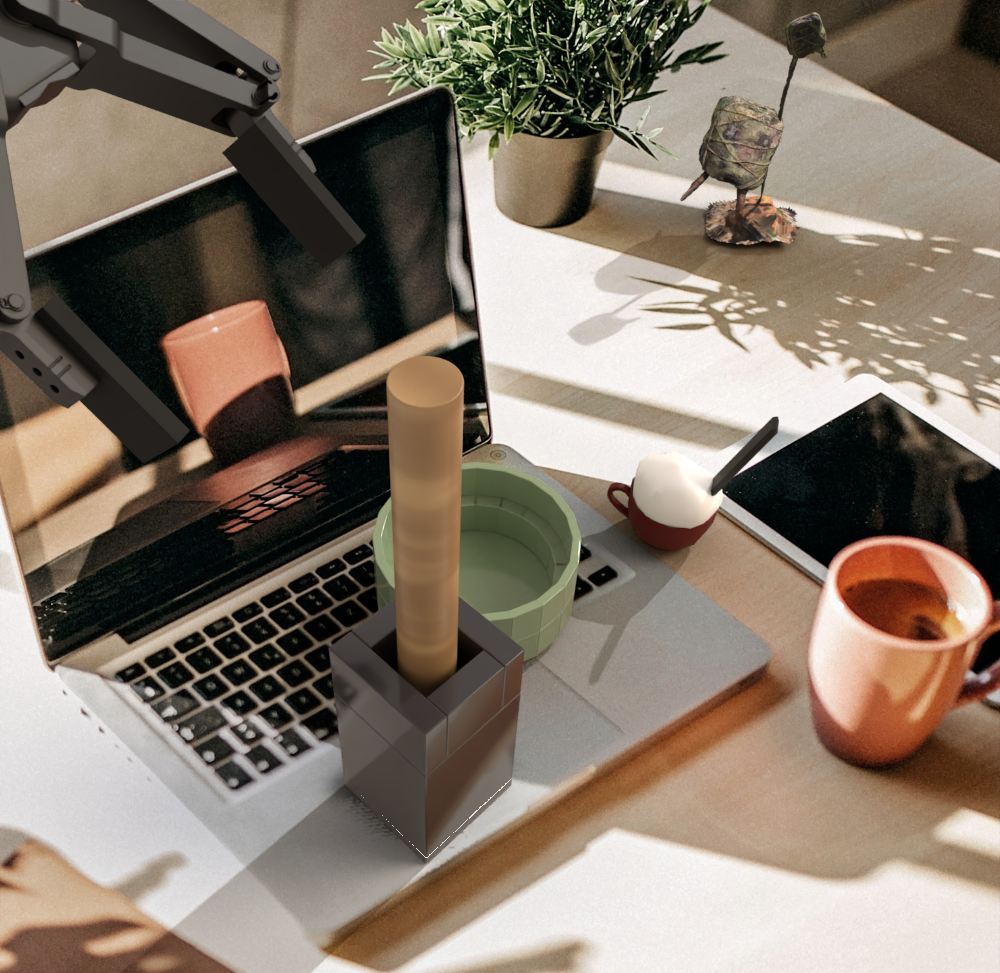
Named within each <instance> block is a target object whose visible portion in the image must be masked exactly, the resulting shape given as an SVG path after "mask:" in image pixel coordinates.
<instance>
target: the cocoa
mask: <svg viewBox="0 0 1000 973" xmlns="http://www.w3.org/2000/svg"><path fill="white" fill-rule="evenodd" d="M779 426H780V418H779V416H772V417H771V418H770V419H769V420H768V421H767V422H766V423H765V424H764V425H763V426H762V427H761V428H760V429H759V430H758V431H757V433H755V435H753V436H752V437H751V439H749V441H747V443H746V444H745V445H744V446H743V447H741V449H740V450H739V451H738V452H737V453H736V454H735V455H734V456H733V457H732V458H731V459H730V460H729V461H728V462H727V463H726V464H725V465H724V466H723V467H722V468H721V469H720V470H718V472H717V473H716V474H714V473H713V472H711V471H709V470H708V469H706V468H704V467H702V466H701V465H699V464H698V463H697V462H695V461H693V460H691V459H690V458H689V457H687V456H685V455H684V454H682V453H680V452H678V451H677V450H674V451H666V452H661V453H655V454H649V455H648V456H646V457H644V458H642V459H639V462H638V465H637V468H636V472H635V476H634V477H633V478H632V480H631V483H630V486H629V485H628V484H625V483H623V482H612V483H611V484H609V487H608V489H607V492H606V496H607V499H608V501H609V503H610V504H611V505H612V506H613V507H614V509H615V510H617V511H618V512H619V513H620V514H622V515H623V516H624V517H625V518H627V519H629V522H630V524H631V526H632V529H633V531H634V532H635V534H636V535H637V536H638V537H640V538H641V540H643V541H644V542H645V543H646V544H647V545H650V546H652V547H654V548H657V549H659V550H663V551H679V550H683V549H686V548H689V547H691V546H694V545H695V544H697V542H698V541H699V540H700V539H701V538H702V537H703V535H705V533H706V532H707V531H708V530H709V529H710V527H712V525H713V523H714V521H715V519H716V517H717V515H718V511H719V508H720V506H721V504H722V502H723V501H724V494H723V488H725V487H726V485H728V483H729V482H730V481H731V480H732V479H734V478H735V476H737V475H738V474H739V472H741V471H742V469H744V468H745V467H746V465H747V464H749V462H750V461H751V460H753V458H754V457H756V456H757V454H758V453H759V452H761V451H762V449H763V448H765V446H766V445H767V444H768V443H769V442H770V441H772V439H773V438H775V437H776V436H777V434H778V433H779ZM617 491H618V492H622V493H624V494H625V495H626V496H627V497H628V499H627V506H625V505H624V504H623V503H622V502H621V501H620V500H619V499H618V498H617V497H616V496H615V494H614V492H617Z"/></svg>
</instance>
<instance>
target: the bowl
mask: <svg viewBox="0 0 1000 973" xmlns="http://www.w3.org/2000/svg"><path fill="white" fill-rule="evenodd" d="M376 517H377V518H376V521H375V524H374V528H373V532H372V537H371V539H372V554H373V556H372V557H373V571H374V572H373V573H374V588H375V596H376V603H377V611H379V610H380V609H381V608H383V607H384V606H385V605H387V604H388V603H389V602H391V601H392V600H393V599H395V581H394V556H393V532H392V508H391V496H390V497H389V498H388V499H387V501H385V503H384V505H383V506H382V507H381V508H380V510H379V512H378V514H377V516H376ZM581 546H582V535H581V532H580V529H579V526H578V522H577V518H576V515H575V513H574V512H573V510H572V509H571V508H570V506H569V505H568V504H567V503H566V501H565V500H564V498H563V497H562V496H561V494H559V492H557V491H556V490H555V489H553V488H552V487H550V486H549V485H548V484H546V483H545V482H544V481H542V480H541V479H539V478H538V477H537V476H535V475H533V474H529V473H527V472H524V471H522V470H519V469H517V468H514V467H512V466H509V465H508V466H507V465H504V464H495V463H488V462H480V461H472V462H471V461H470V462H462V482H461V521H460V560H459V597H461V598H462V599H463V600H464V601H466V602H467V603H468V604H469V605H471V606H472V607H473V608H474V609H475V610H477V611H478V612H479V613H480V614H482V615H483V616H484V617H485V618H487V619H488V620H489V621H490V622H491V623H493V624H494V625H495V626H496V627H498V628H499V629H500V630H501V631H503V632H504V633H505V634H506V635H507V636H509V637H510V638H511V639H512V640H514V641H515V642H516V643H517V644H519V645H520V646H521V647H522V648H524V650H525V654H524V662H526V661H528V660H531V659H533V658H535V657H537V656H538V655H540V653H542V652H543V651H544V650H546V649H547V648H548V647H549V646H550V645H551V644H552V643H554V642H555V641H556V640H557V639H558V638H559V637H560V636H561V634H562V632H563V630H564V628H565V627H566V625H567V623H568V621H569V619H570V617H571V615H572V613H573V605H574V599H575V591H576V584H577V578H578V573H579V572H578V571H579V565H580V558H581V548H582V547H581Z"/></svg>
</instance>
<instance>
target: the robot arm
mask: <svg viewBox="0 0 1000 973" xmlns="http://www.w3.org/2000/svg"><path fill="white" fill-rule="evenodd" d="M76 2H78V3H79V4H78V3H76ZM78 43H81V44H78ZM238 69H240V70H241V71H243V72H241V73H240V72H239V71H238ZM282 75H283V70H282V67H281V65H280V63H279V61H278V60H277V59H276V58H275V57H273V56H272V55H270V54H269V53H267V52H266V51H265V50H263V49H262V48H260V47H258V46H257V45H255V44H254V43H252V42H251V41H249V40H248V39H246V38H244V37H243V36H241V35H240V34H239V33H237V32H236V31H234V30H233V29H231V28H230V27H228V26H227V25H225V24H223V22H220V21H219V20H217V19H216V18H214V17H213V16H211V15H210V14H208V13H207V12H205V11H204V10H202V9H201V8H199V7H197V6H196V5H195V4H193V3H191V1H189V0H0V352H1V353H2V354H4V355H5V356H6V357H7V358H8V359H9V360H10V361H11V362H12V363H13V364H14V365H15V366H16V367H17V368H18V369H19V370H20V371H21V372H22V373H23V374H24V375H25V376H26V377H27V378H28V379H29V380H30V381H33V384H34V385H35V386H37V387H38V388H39V389H40V390H41V391H42V392H43V393H44V394H45V395H46V396H47V397H48V399H50V400H51V401H52V402H53V403H55V404H57V405H59V406H61V407H63V408H65V409H67V410H68V409H70V408H71V407H72V406H74V405H75V404H77V403H78V402H80V403H81V404H82V405H83V406H84V407H85V408H86V409H87V410H88V411H89V412H90V413H91V414H92V415H93V416H95V418H97V420H98V421H99V422H100V423H102V425H104V427H106V428H107V430H109V431H110V432H111V433H112V434H113V435H114V436H115V437H116V438H117V439H118V440H119V441H120V442H121V443H122V444H123V445H124V446H125V448H127V449H128V450H129V451H130V452H131V453H132V454H133V455H134V456H135V457H136V458H137V459H138V460H139V461H140V462H141V463H142V464H145V463H147V462H148V461H150V460H152V459H155V457H157V456H159V455H161V454H163V453H165V452H166V451H168V450H170V449H171V448H173V447H175V446H177V445H178V444H179V443H180V442H181V441H182V440H183V439H184V438H185V437H186V435H187V434H188V433H189V432H190V431H191V430H190V429H189V428H188V427H187V425H185V424H184V423H183V422H182V421H181V420H180V419H179V417H177V415H175V414H174V413H173V411H171V409H170V408H168V406H167V405H165V403H164V402H162V400H161V399H160V398H158V396H157V395H156V394H155V393H154V392H153V391H152V390H151V389H150V388H149V387H148V386H147V385H146V384H145V383H144V382H143V381H142V380H141V379H140V378H139V377H138V376H137V375H136V374H135V373H134V372H133V371H132V370H131V369H130V368H129V367H128V366H127V365H126V364H125V363H124V362H123V360H121V359H120V358H119V357H118V355H116V353H114V352H113V350H111V349H110V348H109V347H108V345H106V344H105V343H104V341H102V340H101V338H100V337H98V336H97V334H95V332H94V331H92V330H91V328H90V327H89V326H87V324H86V323H85V322H84V321H83V320H82V319H81V318H80V317H79V316H78V315H77V314H76V313H75V312H74V311H73V310H72V309H71V308H70V307H69V306H68V305H67V304H66V303H65V302H64V301H63V300H62V299H61V298H60V297H59V296H58V295H57V294H56V295H54V296H53V297H52V298H51V299H50V300H48V301H47V302H46V303H45V304H44V305H42V306H41V307H40V308H39V309H38V310H37V311H35V310H34V309H33V300H32V294H31V288H30V283H29V277H28V276H29V275H28V270H27V264H26V256H25V251H24V245H23V239H22V233H21V227H20V220H19V214H18V209H17V203H16V196H15V190H14V184H13V178H12V173H11V172H12V171H11V166H10V165H11V164H10V160H9V154H8V147H7V141H6V140H7V139H6V137H7V132H8V131H9V130H11V129H12V128H14V127H15V126H17V125H18V124H19V123H20V122H21V120H22V119H24V117H25V116H26V115H27V113H28V112H29V111H30V110H31V109H35V108H38V107H41V106H45V105H47V104H49V103H50V102H51V101H53V100H54V99H56V98H57V97H59V95H61V93H62V92H63V91H64V90H65V88H68V89H71V90H75V91H82V92H83V91H89V90H98V91H100V92H102V93H106V94H108V95H111V96H114V97H117V98H120V99H123V100H126V101H128V102H131V103H134V104H136V105H140V106H142V107H145V108H148V109H150V110H153V111H156V112H158V113H162V114H165V115H168V116H170V117H173V118H176V119H179V120H182V121H185V122H187V123H189V124H192V125H195V126H198V127H201V128H204V129H207V130H210V131H211V132H215V133H218V134H221V135H223V136H226V137H230V138H237V139H236V140H234V141H233V142H232V143H231V144H230V145H229V146H228V147H226V149H224V150H223V151H222V152H221V154H222V155H223V156H224V157H225V158H226V159H227V160H228V162H229V163H230V164H231V165H232V166H233V168H234V169H235V170H236V171H237V172H238V174H240V176H241V177H242V178H243V179H244V181H246V182H247V183H248V184H249V187H251V188H252V190H254V191H255V193H256V194H257V196H259V197H260V198H261V200H262V201H263V202H264V203H265V204H266V206H267V207H268V208H269V209H270V210H271V211H272V212H273V214H275V216H276V217H277V218H278V219H279V220H280V222H281V223H282V224H283V225H284V226H285V227H286V228H287V229H288V230H289V232H290V233H291V234H292V235H293V237H294V238H295V239H296V240H297V241H298V242H299V243H300V244H301V246H302V247H303V248H304V249H305V251H307V252H308V254H309V255H310V256H311V257H312V258H313V260H315V262H316V263H317V264H318V265H319V266H320V268H322V269H325V268H326V267H328V266H329V265H330V264H332V263H333V262H335V261H337V260H338V259H339V258H340V257H342V256H344V255H345V254H346V253H348V252H350V251H351V250H352V249H354V248H355V247H357V246H358V245H359V244H361V242H362V241H364V239H365V238H366V237H367V235H366V233H364V231H363V230H362V229H361V228H360V227H359V225H358V224H357V223H356V222H355V221H354V220H353V218H352V217H351V216H350V215H349V213H348V212H347V211H346V210H345V209H344V207H343V206H341V204H340V203H339V201H338V200H337V199H336V198H335V197H334V196H333V194H332V193H331V192H330V190H328V189H327V188H326V187H325V185H324V184H323V183H322V182H321V180H320V179H319V178H318V177H317V176H316V175H315V173H316V172H317V168H316V166H315V164H314V161H313V159H312V158H311V157H310V156H309V154H308V153H307V152H306V151H305V149H302V146H301V145H300V144H299V143H298V142H297V141H296V139H295V138H294V136H293V135H292V134H291V133H290V132H289V131H288V129H287V128H286V127H285V126H284V125H283V123H282V122H281V121H280V119H278V117H277V116H276V115H275V113H274V112H273V111H272V109H271V108H272V107H273V106H274V105H275V104H276V103H277V102H278V101H279V100H280V98H281V91H280V88H279V86H278V84H277V82H278V81H279V80H280V79H281V77H282Z"/></svg>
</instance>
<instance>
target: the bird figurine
mask: <svg viewBox="0 0 1000 973" xmlns="http://www.w3.org/2000/svg"><path fill="white" fill-rule="evenodd" d="M784 35H785V36H784V37H785V39H786V41H785V42H786V50H787V52H788V54H789V56H792V58H791V61H790V63H789V66H788V72H787V77H786V79H785V85H784V86H783V90H782V93H781V94H782V95H781V97H780V102H779V109H778V112H777V110H776V109H775V108H773V107H769V106H766V105H764V104H763V103H760V102H757V101H754V100H750V99H747V98H746V97H743V96H740V95H725V96H721V97H720V98H719V99H718V102H717V103H716V105H715V107H714V109H713V111H712V115H711V119H710V126H709V128H708V130H707V132H706V133H705V134H704V136H703V138H702V143H701V144H700V145H699V146H700V147H699V149H698V161H699V163H700V165H701V171H703V172H702V173H701V174H700V175H699V176H698V177H697V178H696V179H695V180H694V181H692V183H690V186H689V188H688V189H687V190H686V191H685V192H684V193H683V194H682V195H681V197H680V199H679V201H680V202H684V201H686V199H688V198H689V197H690V196H691V195H692V194H693V193H694V192H695V191H697V190H698V188H700V187H701V186H702V185H703V184H704V183H705V181H707V180H708V179H709V178H710V179H715V180H716V181H718V182H723V183H727V184H729V185H732V186H733V187H734V188H735V189H736V198H735V199H732V200H730V199H729V200H727V201H726V200H725V199H723V200H720V199H719V200H718V201H714V202H709V205H707V207H705V210H706V211H705V213H706V214H705V216H706V220H705V223H706V224H705V225H704V226H705V229H706V231H705V233H706V234H707V237H710V239H712V240H715V241H717V242H719V243H722V242H723V243H727V244H736V245H741V244H743V245H745V246H748V245H749V246H751V245H754V244H758V243H761V242H762V241H764V242H767V243H772V242H774V241H778V242H782V243H785V244H787V245H790V244H791V243H792V242H793V241H795V240H796V238H794V237H797V234H796V231H798V230H800V229H801V227H799V226H797V224H796V223H798V221H797V219H796V217H797V215H798V213H797V212H796V211H795V209H793V208H791V207H790V206H789V207H788V208H787V207H784V206H779V207H776V206H775V205H774V200H773V199H772V197H771V196H766V195H763V194H764V190H765V184H766V180H767V177H768V172H769V166H770V164H771V163H772V160H773V157H774V156H775V154H776V151H777V149H778V147H779V146H780V144H781V143H782V141H783V132H784V128H785V126H784V125H785V124H784V118H783V115H784V107H785V105H786V104H785V103H786V99H787V95H788V92H789V88H790V84H791V81H792V79H793V76H794V73H795V70H796V67H797V65H798V62H799V60H803V59H805V58H806V57H808V56H810V55H814V54H815V53H817V54H820V58H821V59H823V60H827V59H828V55H827V53H826V50H825V49H824V47H825V46H826V45H827V43H828V41H827V38H828V37H827V32H826V29H825V27H824V24H823V21H822V18H821V16H820V14H818V12H815V11H813V12H811V13H808V14H805V15H803V16H799V17H796V18H794V19H793V20H792V21H790V22H789V23H787V24H786V26H785V27H784ZM726 89H727V88H726V87H722V88H721V90H722V91H725V90H726ZM759 188H760V195H753V196H750V195H749V196H747V194H748V193H749V191H755V190H757V189H759Z"/></svg>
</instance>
